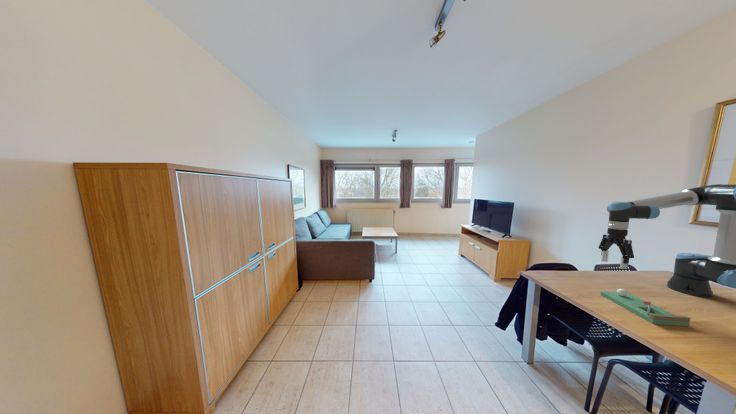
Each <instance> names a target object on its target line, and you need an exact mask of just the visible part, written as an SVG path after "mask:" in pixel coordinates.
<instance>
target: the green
mask: <svg viewBox="0 0 736 414" xmlns="http://www.w3.org/2000/svg"><path fill="white" fill-rule="evenodd" d="M627 293H628V294H627V296H620V295H619V294H618V293H617V291H616V292H615V291H604V290H603V291H600V293H599V294H600V296H602V297H604V298H605V299H608V300H610V301H611V302H613V303H615V304H616V305H618V306H620V307H622V308H624V309H625V310H628V311H629V312H630V313H633V314H635V315H636V316H638V317H639V318H641V319H643V320H646V321H647V322H649V323H651V324H655V325H665V326H667V325H668V326H679V327H690V324H691V323H690V322H691V317H688V316H683V315H675V314H673V313H672V312H669V311H667V310H665V309H662V308H661V307H659V306H656V305H654V304H653V303H652V301H646V300H644V299H643V298H640V297H638V296H635V295H634V294H632V293H629V292H627Z"/></svg>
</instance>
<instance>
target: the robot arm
mask: <svg viewBox="0 0 736 414" xmlns="http://www.w3.org/2000/svg"><path fill="white" fill-rule="evenodd" d="M696 205H697V206H698V205H701V206H702V205H705V206H706V205H710V206H715V211H717V212H719V213H720V215H719V220H718V225H717V230H716V231H717V232H716V237H715V242H714V243H715V244H714V249H713V255H708V254H700V253H690V252H679V253H677V254H676V257H675V260H674V268H673V275H672V276H671V277H670V279H669V280H668V281H667V282H666V287H668V288H669V289H672V290H674V291H676V292H680V293H683V294H687V295H692V296H697V297H702V298H712V297H713V296H714V292H713V290H712V287H711V284H710V282H712V283H715V284H718V285H720V286H722V287H723V286H724V287H727V288H731V289H735V290H736V184H708V185H703V186H698V187H692V188H687V189H682V190H680V191H679V192H676V193H675V192H674V193H669V194H663V195H659V196H658V195H657V196H653V197H648V198H642V199H637V200H631V201H613V202H611V203H608V205H607V206H606V211H607V212H608V224H607V225H608V226H607V227H608V228H607V231H606V233H607V234H603V235H602V238H601V240H600V242H599V245H598V247H597V248H598V249H600V250H601V260H600V261H601V262H605V263H606V262H609V254H610V253H609V251H610V250H609V249H610V248H611V247H612V246H613V245H616V246H617V247H618V249H619V251H620V253H621V256H622V257H621V258H620V263H619V264H620V265H619V269H620V270H621V269H622V270H626V269H628V264H629V263H630V259H634V258H635V255H634V251H633V245H632V244H633V243H632V240H631V239H627V238H626V237H627V236H628V233H629V225H630V224H629V223H630V219H636V220H637V219H640V220H643V219H644V220H651V219H652V220H653V219H654V220H655V219H656V218H659V217H660V215H661V210H662V209H669V208H674V207H680V206H681V207H682V206H690V207H691V206H696Z"/></svg>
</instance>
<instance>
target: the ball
mask: <svg viewBox="0 0 736 414" xmlns="http://www.w3.org/2000/svg"><path fill="white" fill-rule="evenodd" d="M616 292H617V293H618V294H619V295H620V296H627V294H628V293H629V292H628V291H627V290H626V289H623V288H618V289H616Z"/></svg>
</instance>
